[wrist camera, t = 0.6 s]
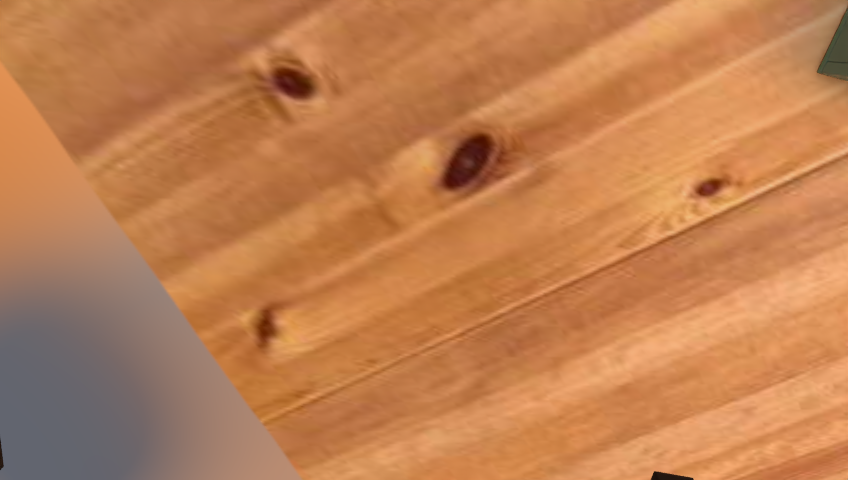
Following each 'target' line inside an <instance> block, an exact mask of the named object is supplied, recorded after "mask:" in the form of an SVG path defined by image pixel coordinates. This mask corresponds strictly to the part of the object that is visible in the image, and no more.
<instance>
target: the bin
mask: <svg viewBox="0 0 848 480" xmlns="http://www.w3.org/2000/svg"><path fill="white" fill-rule="evenodd" d="M817 72H818V73H820V74H824V75H827V76H831V77H835V78H838V79H842V80H845V81H848V9H847V11H846V13H845V15H844V17H843V19H842V21H841V23H840V25H839V28H838V30H837V32H836V34H835V36H834V38H833V40H832V42H831V44H830V46H829V48H828V50H827V53H826V55H825V57H824V59H823V61H822V63H821V65H820V67H819V69H818V71H817Z"/></svg>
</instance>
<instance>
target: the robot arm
mask: <svg viewBox="0 0 848 480" xmlns="http://www.w3.org/2000/svg"><path fill="white" fill-rule="evenodd" d="M3 466H4V465H3V457H2V449H1V441H0V470H1V468H3ZM651 480H693V478H690V477H684V476H679V475H673V474H667V473H661V472H656V471H654V473H653V476H652V478H651Z"/></svg>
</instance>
